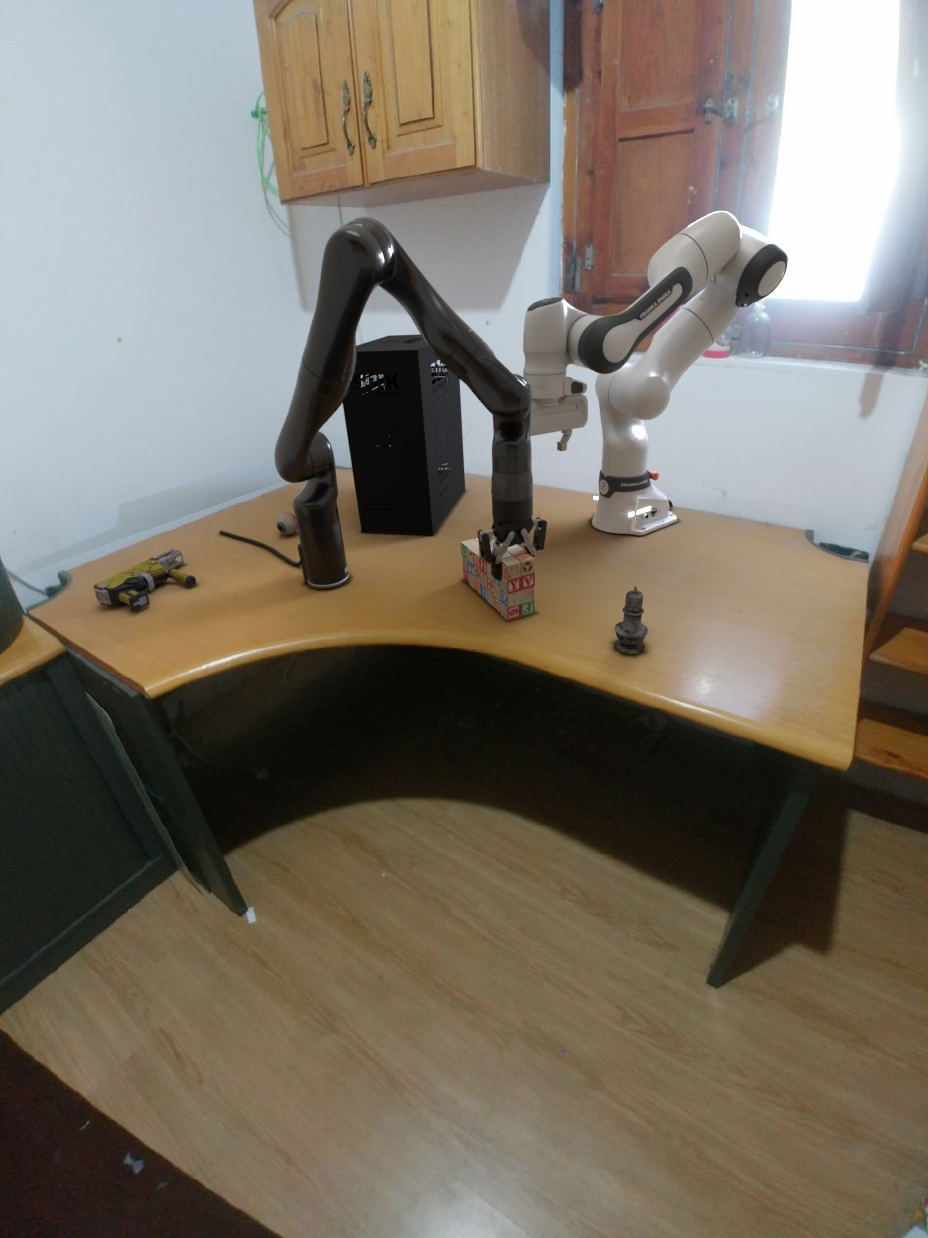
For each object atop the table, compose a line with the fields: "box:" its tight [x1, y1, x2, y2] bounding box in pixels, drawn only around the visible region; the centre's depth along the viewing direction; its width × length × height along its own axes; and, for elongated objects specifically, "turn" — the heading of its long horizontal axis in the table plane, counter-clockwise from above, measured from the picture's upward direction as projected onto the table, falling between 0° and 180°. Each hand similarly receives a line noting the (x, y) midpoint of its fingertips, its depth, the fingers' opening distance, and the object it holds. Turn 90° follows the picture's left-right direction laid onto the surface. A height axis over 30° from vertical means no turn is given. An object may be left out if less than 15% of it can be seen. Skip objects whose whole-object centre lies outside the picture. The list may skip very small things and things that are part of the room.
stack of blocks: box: [460, 537, 536, 621], centre depth 125 cm, size 21×6×12 cm, turn 25°
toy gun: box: [93, 548, 197, 612], centre depth 139 cm, size 5×24×15 cm
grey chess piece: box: [613, 585, 649, 655], centre depth 105 cm, size 6×6×12 cm
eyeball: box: [275, 511, 298, 536], centre depth 163 cm, size 6×6×6 cm
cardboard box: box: [342, 333, 466, 536], centre depth 166 cm, size 38×20×45 cm, turn 167°
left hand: (513, 574), depth 118 cm, fingers closed on stack of blocks, 6 cm apart
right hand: (543, 453), depth 132 cm, fingers open, 8 cm apart
